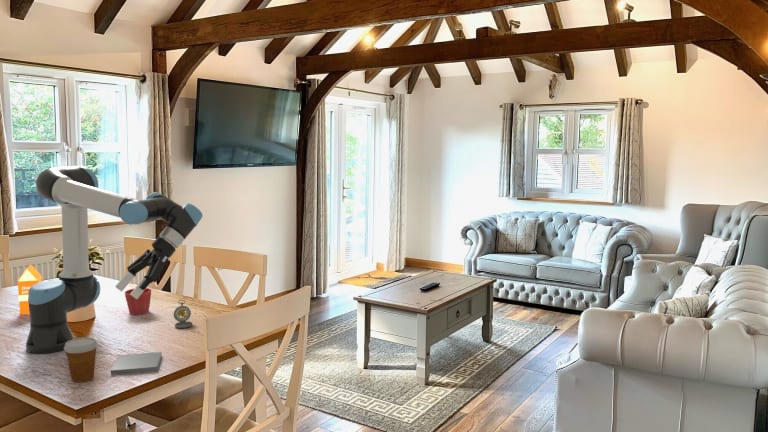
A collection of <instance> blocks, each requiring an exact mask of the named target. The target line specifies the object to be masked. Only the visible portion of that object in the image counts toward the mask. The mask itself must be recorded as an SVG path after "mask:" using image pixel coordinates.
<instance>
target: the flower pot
mask: <svg viewBox="0 0 768 432" xmlns="http://www.w3.org/2000/svg"><path fill="white" fill-rule="evenodd" d="M134 289H135V288H131V289H127V290H125V291H124V296H125V301H126V304H127V305H126V306H127V309H128V312H129V314H130V315H132V316H139V315H140V316H141V315H146V314H148V313H149V312H150V306H151V298H152V297H151V296H152V288H149V287H147V288H146V289H145V290H144V292H143V293H142V294H141V295H140V296H139V298H138V299H136V298H134V297H133V296H132V295H130V293H131V292H132V291H133V290H134Z"/></svg>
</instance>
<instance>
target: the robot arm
mask: <svg viewBox="0 0 768 432" xmlns="http://www.w3.org/2000/svg"><path fill="white" fill-rule="evenodd" d="M35 188H36V190H37V192H38V194H39V195H40V196H41V197H42V198H44V199H45V200H48V201H51V202H54V203H56V204H57V205H59V206H60V208H61V231H62V232H61V233H62V234H61V235H62V236H61V237H62V265H63V266H62V269H63V270H61V272H60V273H59V274H58V279H48V280H44V281H43V280H42V282H40V283H37V284H35V285H33V286H32V287H30V289H29V291H28V303H29V314H28V315H29V324H30V325H29V326H30V327H29V328H30V329H29V332H28V335H27V338H26V339H27V340H26V343H25V349H26V351H27V352H28V353H30V354H50V353H55V352H60V351H65V350H64V347H65V343H66V342H68V341H70V340H73V339H75V338H74V335H73V333H72V330H71V329H70V327H69V324H68V316H67V313H70V312H73V311H76V310H79V309H82V308H86V307H88V306H89V305H92V304H93V303H95V302H96V301H97V300H98V298H99V297H100V295H101V285H100V284H101V283H100V282H99V280H98V279H97V277H96V276H94V272H93V271H92V270H91V269H90V268H89V267H90V265H89V264H90V263H89V260H90V259H89V219H88V218H89V217H88V213H89V211H88V210H92V211H96V212H99V213H103V214H106V215H109V216H112V217H117V218H120V219H121V220H122V221H123V222H124V224H126V225H140V224H143V223H148V222H151V221H157V220H162V221H164V222H166V223H167V224H168V225H167V226H165V228H164V229H163V230H162V231H161V232H160V233H159V237H156V238H155V240H154V241H152V243H151V247H152V248H153V249H152V250H151V249H149V248H148V249H146V250H145V252H144V253H142V255H140V256H139V257H138V258H136V260H134V261H133V262H132V263H131V264H129V265H128V266H127V267H126V269H127V272H126V273H125V275H124V276H123V277H122V278H121V279H120V280H119V281H118V283H117V284H116V285H115V288H116V289H118V290H119V291H120V292H123V291H124V290H125V289H126V287H127V286H128V285H129V284H130V283H131V282H132V281H133V279H134V278H135V277H136V276H137V274H138V273H140V272H141V271H142V270H144V269H146V268H147V267H148V269H147V273H146V275H144V276H143V277H142V278H141V280H140V282H139V283H138V284H137V285H136V286H135V288H133V289H134V290H133V291H132V292H131V293H130V295H132V296H133V297H134V298H136V299H138V298H139V296H140V295H141V294H142V293H143V292H144V290H145V289H146V288H149V286H150V284H152V283H156V282H157V281H158V279H159V277H160V275H161V273H162V271H163V270H164V267H165V265H166V264H167V263H168V261H169V260H170V259H169V258H171V257H172V256H173V254H175V252H176V249H179V247H181V245H183V242H184V241H185V240H186V238H187V237H188V236H189V235H190V234H191V233H192V231H193V230H194V228H196V227H197V226H198V224H199V223H200V222H201V220H202V218H203V217H204V216H203V212H202V211H201V210H200V209H199V208H198V207H197V206H195V205H194V204H191V203H189V202H188V203H185V204H184V205H181V204H178V203H177V202H176V201H174V200H172V199H171V198H169V197H167V196H166V195H164V194H161V192H158V191H157V192H156V191H154V192H152V193H150V194H149V195H148V196H147V197H146V198H145V199H137V198H133V197H129V196H127V195H124V194H119V193H117V192H116V193H115V192H112V191H109V190H105V189H101V188H99V180H98V177H97V176H96V174H95V172H94V171H93V170H92V169H91V168H89V167H87V166H83V165H71V166H59V167H57V166H55V167H48V168H45V169H44V170H43V171H41V172H40V173H39V174H38V176H37V178H36V181H35Z"/></svg>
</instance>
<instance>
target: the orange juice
mask: <svg viewBox="0 0 768 432" xmlns="http://www.w3.org/2000/svg"><path fill="white" fill-rule="evenodd" d="M40 282H43V276H42V275H41V274H40V272H39V271H38V270H37V269H36V268H35V267H34V266H33V265H32V264H30V265H29V266H28V267H27V268H26V269H25V270H24V272H23V273H22V275H21V276H20V277H19V278H18V280H17V289H18V292H17V293H18V306H19V315H20V314H27V313H29V303H28V291H29V289H30V287H32V286H33V285H35V284H37V283H40Z"/></svg>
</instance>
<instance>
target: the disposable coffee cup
mask: <svg viewBox="0 0 768 432" xmlns="http://www.w3.org/2000/svg"><path fill="white" fill-rule="evenodd" d="M97 347H98V342H97V340H96V338H95V337H78V338H74V339H73V340H70V341H68V342H66V343H65V347H64V350H63V351H64V352H65V355H66V360H67V365H68V369H69V372H70V373H69V374H70V377H71V381H72V382H74V383H84V382H88V381H91V380H93V379H94V377H95V368H96V367H95V364H96V357H97V356H96V354H97V353H96V352H97Z"/></svg>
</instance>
